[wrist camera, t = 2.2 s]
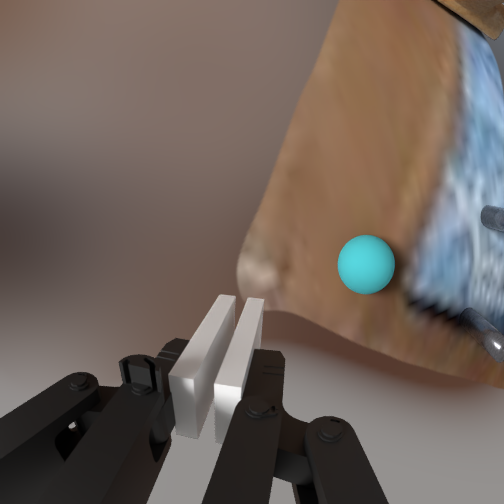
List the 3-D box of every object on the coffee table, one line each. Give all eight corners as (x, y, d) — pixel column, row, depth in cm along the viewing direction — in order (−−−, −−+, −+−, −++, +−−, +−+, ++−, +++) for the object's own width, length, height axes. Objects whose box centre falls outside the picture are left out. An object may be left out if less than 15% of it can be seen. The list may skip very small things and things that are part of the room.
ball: (388, 233, 28) (407, 244, 23) (380, 284, 29) (396, 304, 24) (337, 228, 29) (347, 238, 23) (330, 281, 30) (338, 301, 24)
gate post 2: (476, 307, 28) (515, 340, 19) (471, 326, 29) (506, 361, 20) (462, 307, 28) (500, 341, 20) (456, 326, 29) (492, 363, 20)
